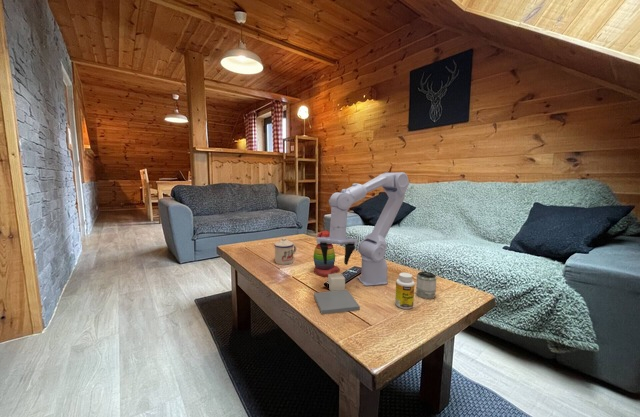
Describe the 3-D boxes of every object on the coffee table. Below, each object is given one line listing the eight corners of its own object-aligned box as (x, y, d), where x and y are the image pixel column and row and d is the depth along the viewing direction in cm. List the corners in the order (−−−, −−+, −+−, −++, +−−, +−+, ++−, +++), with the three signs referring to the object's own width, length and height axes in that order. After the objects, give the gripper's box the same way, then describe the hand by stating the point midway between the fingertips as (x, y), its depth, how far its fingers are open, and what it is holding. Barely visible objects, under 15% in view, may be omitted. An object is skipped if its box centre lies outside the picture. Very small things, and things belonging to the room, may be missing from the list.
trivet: (347, 293, 92) (347, 289, 92) (359, 310, 80) (359, 306, 80) (314, 296, 90) (314, 292, 89) (321, 314, 78) (321, 310, 78)
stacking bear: (327, 278, 106) (327, 234, 103) (307, 272, 112) (307, 231, 109) (341, 270, 114) (342, 230, 112) (323, 265, 120) (323, 227, 118)
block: (340, 286, 98) (341, 273, 98) (344, 291, 93) (345, 278, 93) (327, 287, 97) (328, 274, 97) (331, 293, 92) (331, 279, 92)
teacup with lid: (282, 266, 119) (282, 241, 117) (270, 262, 125) (270, 238, 123) (302, 260, 127) (302, 236, 126) (289, 256, 134) (289, 234, 132)
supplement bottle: (400, 310, 80) (402, 278, 79) (391, 302, 86) (393, 272, 84) (417, 308, 82) (418, 277, 80) (407, 300, 87) (408, 270, 86)
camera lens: (430, 301, 86) (431, 278, 85) (412, 295, 91) (413, 273, 90) (438, 295, 91) (439, 273, 90) (420, 289, 95) (422, 268, 94)
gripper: (319, 227, 88) (317, 266, 89) (361, 229, 90) (358, 267, 91) (316, 224, 95) (314, 260, 96) (355, 225, 97) (352, 261, 98)
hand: (335, 263), depth 94 cm, fingers open, 7 cm apart
